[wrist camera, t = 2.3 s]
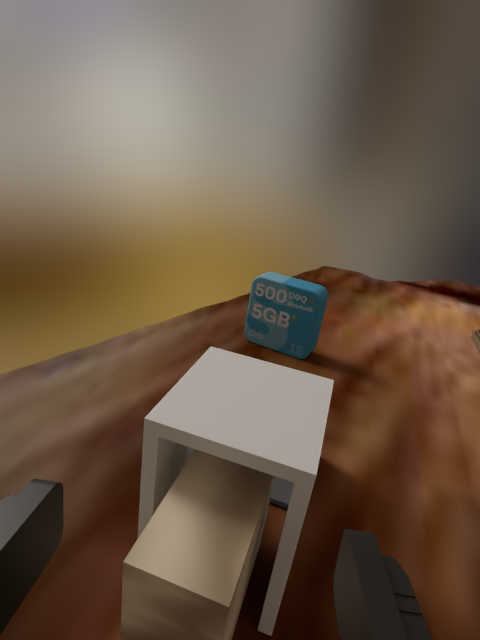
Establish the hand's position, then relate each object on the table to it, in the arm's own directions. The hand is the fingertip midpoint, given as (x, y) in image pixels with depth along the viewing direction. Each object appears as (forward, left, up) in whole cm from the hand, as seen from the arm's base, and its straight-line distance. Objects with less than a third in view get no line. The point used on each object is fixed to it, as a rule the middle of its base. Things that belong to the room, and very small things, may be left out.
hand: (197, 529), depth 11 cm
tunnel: (+9, +13, -20) cm, 25 cm away
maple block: (+5, +9, -20) cm, 23 cm away
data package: (+32, +45, -20) cm, 59 cm away
